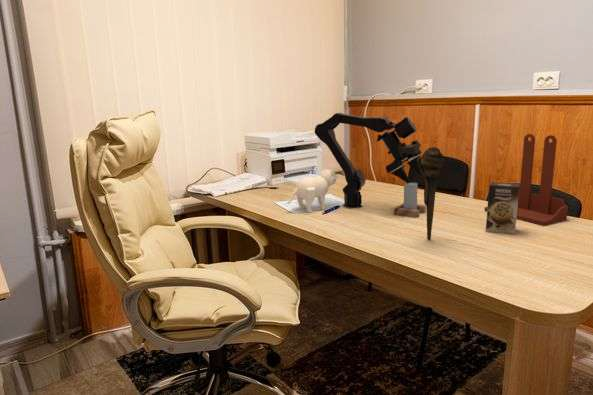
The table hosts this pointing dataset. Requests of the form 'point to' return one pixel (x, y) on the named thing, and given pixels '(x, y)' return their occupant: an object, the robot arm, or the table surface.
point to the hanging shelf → (542, 205)
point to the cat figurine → (314, 189)
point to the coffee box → (502, 207)
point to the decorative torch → (430, 181)
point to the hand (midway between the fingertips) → (414, 178)
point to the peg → (410, 195)
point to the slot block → (409, 211)
